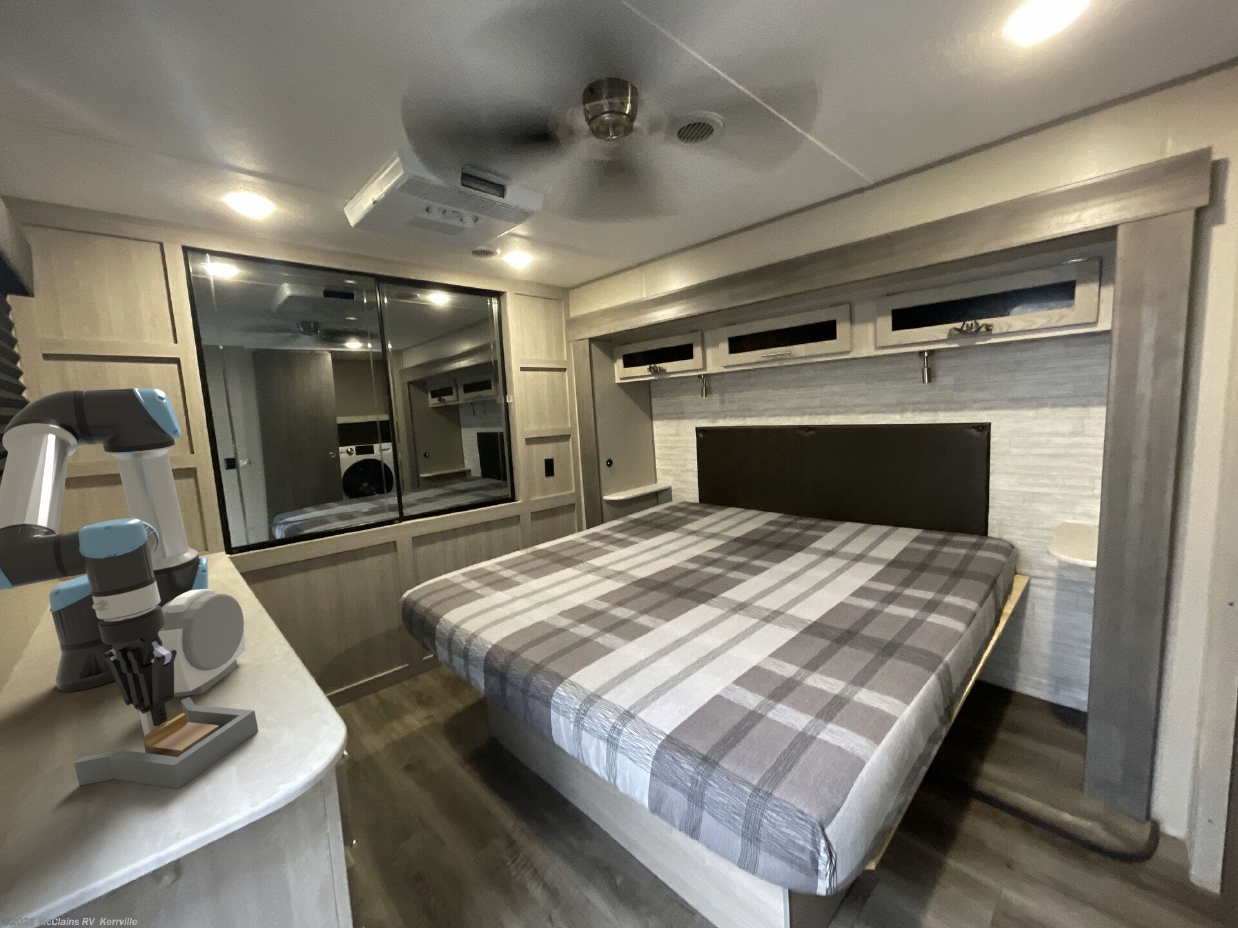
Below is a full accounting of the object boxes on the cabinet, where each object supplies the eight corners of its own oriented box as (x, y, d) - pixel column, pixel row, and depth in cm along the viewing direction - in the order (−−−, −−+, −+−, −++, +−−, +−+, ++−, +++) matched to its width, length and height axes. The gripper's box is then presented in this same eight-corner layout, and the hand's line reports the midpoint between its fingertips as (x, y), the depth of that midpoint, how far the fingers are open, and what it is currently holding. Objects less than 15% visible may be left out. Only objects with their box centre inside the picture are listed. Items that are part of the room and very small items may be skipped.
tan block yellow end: (148, 764, 80) (142, 736, 79) (187, 738, 86) (181, 713, 85) (185, 769, 78) (179, 741, 78) (222, 742, 84) (217, 716, 83)
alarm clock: (218, 660, 113) (202, 579, 111) (256, 656, 114) (241, 575, 111) (151, 709, 96) (130, 613, 93) (196, 704, 96) (177, 608, 94)
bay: (77, 785, 76) (71, 762, 76) (191, 715, 92) (186, 696, 92) (165, 798, 72) (160, 774, 72) (268, 723, 88) (264, 703, 88)
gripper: (72, 621, 78) (103, 752, 81) (133, 624, 75) (163, 760, 78) (127, 601, 85) (154, 722, 88) (185, 603, 82) (210, 728, 86)
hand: (158, 740), depth 83 cm, fingers closed
